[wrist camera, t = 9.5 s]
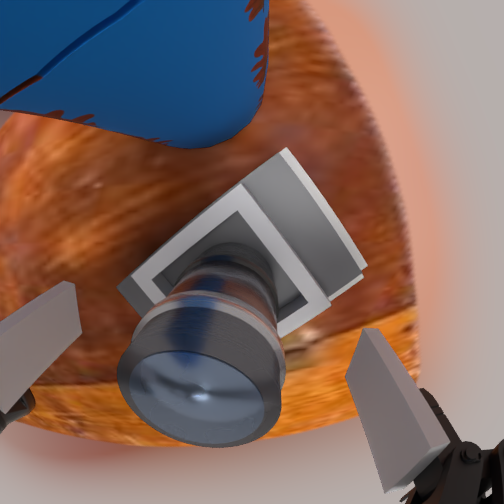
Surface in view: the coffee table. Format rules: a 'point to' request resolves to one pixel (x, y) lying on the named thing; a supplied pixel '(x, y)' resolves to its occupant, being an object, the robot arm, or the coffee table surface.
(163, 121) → the thermos
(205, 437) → the lens
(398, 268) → the coffee table surface
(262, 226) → the grey square frame
